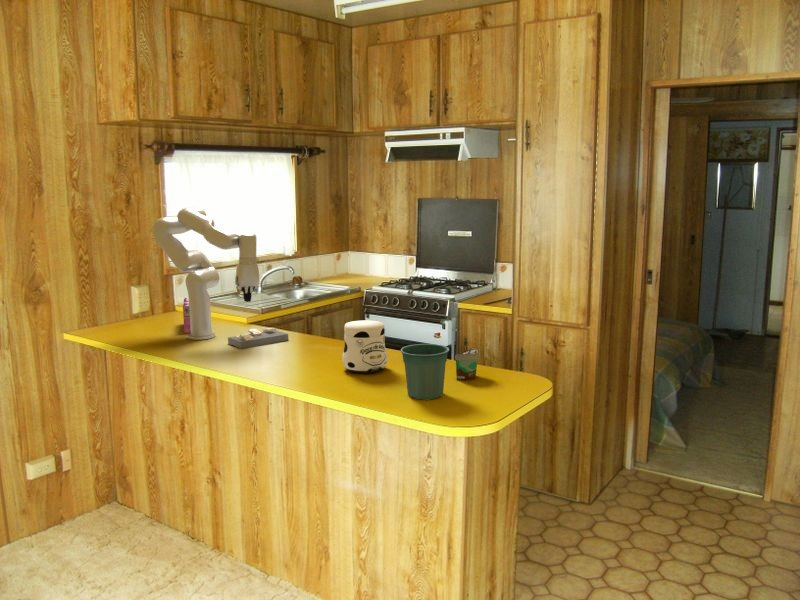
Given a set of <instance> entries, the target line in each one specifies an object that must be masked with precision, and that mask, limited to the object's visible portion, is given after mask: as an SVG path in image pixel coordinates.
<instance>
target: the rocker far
mask: <svg viewBox="0 0 800 600" xmlns="http://www.w3.org/2000/svg"><path fill="white" fill-rule="evenodd" d="M275 330H277V328H276V327H267V328H263V329H262V332H265V331H266V332H270V331H275Z"/></svg>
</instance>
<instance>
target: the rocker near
mask: <svg viewBox="0 0 800 600" xmlns="http://www.w3.org/2000/svg"><path fill="white" fill-rule="evenodd" d="M249 334H250V333H249V332H245V333H239V336H240V337H241V338H242V339H244V340H246V341H248V340H253V339H254V337H252V336H251V335H249Z"/></svg>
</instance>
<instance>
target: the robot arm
mask: <svg viewBox="0 0 800 600" xmlns="http://www.w3.org/2000/svg"><path fill="white" fill-rule="evenodd" d="M191 230H192V231H193V232H196V233H198V234H200V235H201V236H202V237H203V239H205V241H206V242H208V243H209V244H211V245H212V246H214V247H216V248H218V249H221V250H233V249H238V252H239V253H238V263H237V264H236V269H235V275H234V277H235V278H234V283H235V285H236V286H235V288H236V290H241V292H242V293H243V300H244V302H246V303H251V301H252V293H254V292H253V291H254V290H255V289H258V288H259V287H260V285H259V284H260V272H259V271H260V269H259V265H258V263H257V262H259V257H257V235H256V234H255V233H251V232H243V231H242V232H241V231H240V230H239V231H238V230H235V231H234V230H233V231H226V232H225V231H222V230H219V229H218V228H215V221H214V219H212V218H211V217H209V216H207V213H206V212H205V210H204V209H203V208H201V207H197V206H196V207H195V206H194V207H185V208H181V209H180V210H179V211H178V213H177V215H172V216H171V215H170V216H162V217H159V218H158V219H156V220H155V221H154V223H153V225H152V236H153V238H154V240H155V242H156V244H157V245H159V247H160V248H161V249H162V250H163V251H164V253H165V254H166V255H167V257H168V258H169V259H170V261H171V262H172V263H173V265H174V266H175V267H176V268H177V269H178V271H180V272H181V273H188V274H187V275H186V277H185V286H186V291H187V294H188V295H187V297H188V299H189V310H190V326H191V328H190V330H191V333H188V334H187V339H189V340H192V341H195V340H196V341H199V340H200V341H201V340H203V341H204V340H209V339H213V338H216V333H215V332H213V327H212V310H211V298H210V294H209V292H208V290H207V289H211V288H215V287H216V286H218V284H219V283H220V274H219V272H218V271H217V269H216V268H215V266H214V265H213V264H212V263H211V261H210V260H209V258H208V257H207V256H206V254H204V253H203V252H202V251H199V250H188V249H187V248H186V247H185V246H184V244H183V243H182V241H181V240H180V239H178V238H176V237H175V236H174V235H181V234H184V233H186V232H189V231H191Z"/></svg>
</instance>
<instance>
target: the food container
mask: <svg viewBox="0 0 800 600" xmlns="http://www.w3.org/2000/svg"><path fill="white" fill-rule="evenodd" d="M479 358H480V354H479V351H478V349H477V348H472V347H469V349H468V350H466V351H463V352H462V353H459V354H457V353H455V356H454V361H455V369H456V370H455V372H456V375H455V376H456V381H461V382H462V381H466V382H467V381H472V380H475V379H476V378H477V369H478V368H477V367H478V359H479Z"/></svg>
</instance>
